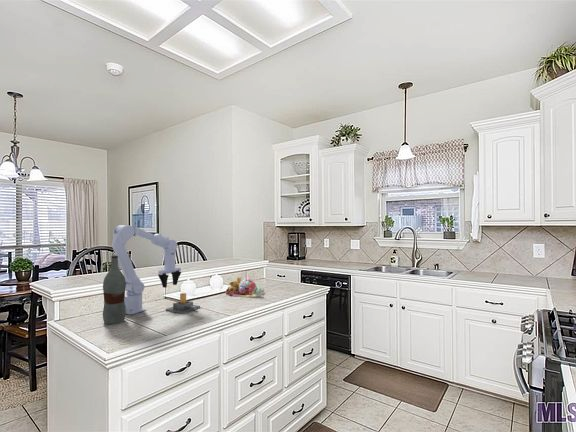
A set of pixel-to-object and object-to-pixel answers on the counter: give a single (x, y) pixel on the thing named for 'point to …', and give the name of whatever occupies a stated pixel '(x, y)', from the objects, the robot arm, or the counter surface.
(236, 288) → the pastel sphere sculpture
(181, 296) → the round-ended pin
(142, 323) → the counter surface
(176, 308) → the grey slotted socket block
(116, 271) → the bottle
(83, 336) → the counter surface
